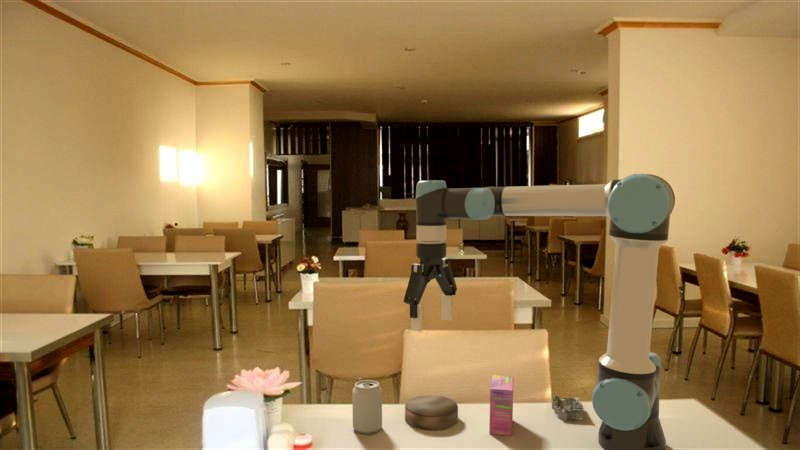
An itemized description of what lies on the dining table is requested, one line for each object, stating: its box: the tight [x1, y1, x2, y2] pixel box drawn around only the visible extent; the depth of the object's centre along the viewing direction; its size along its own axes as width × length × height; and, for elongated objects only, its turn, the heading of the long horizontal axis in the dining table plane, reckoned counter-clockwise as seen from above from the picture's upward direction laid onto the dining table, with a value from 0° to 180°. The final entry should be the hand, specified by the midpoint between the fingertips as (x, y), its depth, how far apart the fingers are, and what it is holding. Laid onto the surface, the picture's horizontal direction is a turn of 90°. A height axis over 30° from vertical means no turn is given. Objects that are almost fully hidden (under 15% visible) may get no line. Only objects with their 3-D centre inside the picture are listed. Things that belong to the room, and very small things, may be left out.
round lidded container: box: [404, 394, 459, 432], centre depth 160 cm, size 14×14×4 cm
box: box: [488, 374, 515, 437], centre depth 155 cm, size 10×6×12 cm, turn 168°
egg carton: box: [551, 392, 585, 421], centre depth 165 cm, size 11×8×4 cm
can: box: [351, 379, 383, 435], centre depth 154 cm, size 8×8×12 cm
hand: (431, 325), depth 154 cm, fingers open, 13 cm apart
